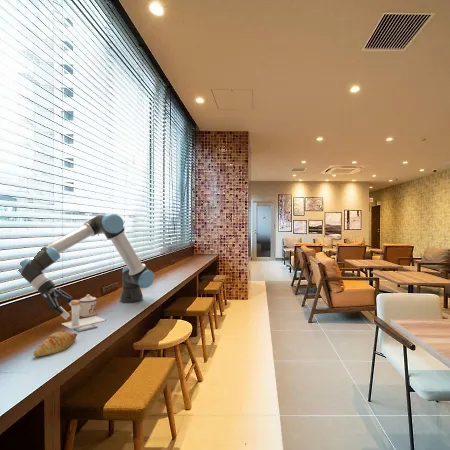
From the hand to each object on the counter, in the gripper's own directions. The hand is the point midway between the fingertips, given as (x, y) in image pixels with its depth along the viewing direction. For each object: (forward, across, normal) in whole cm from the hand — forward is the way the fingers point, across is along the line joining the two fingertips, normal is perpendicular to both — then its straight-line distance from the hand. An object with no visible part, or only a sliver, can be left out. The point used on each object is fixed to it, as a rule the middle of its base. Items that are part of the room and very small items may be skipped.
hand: (73, 313), depth 159 cm
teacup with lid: (+4, -21, -4) cm, 22 cm away
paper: (+6, -5, -2) cm, 8 cm away
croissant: (+8, +31, -1) cm, 32 cm away
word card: (+10, +5, +1) cm, 11 cm away
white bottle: (+4, 0, -4) cm, 6 cm away
